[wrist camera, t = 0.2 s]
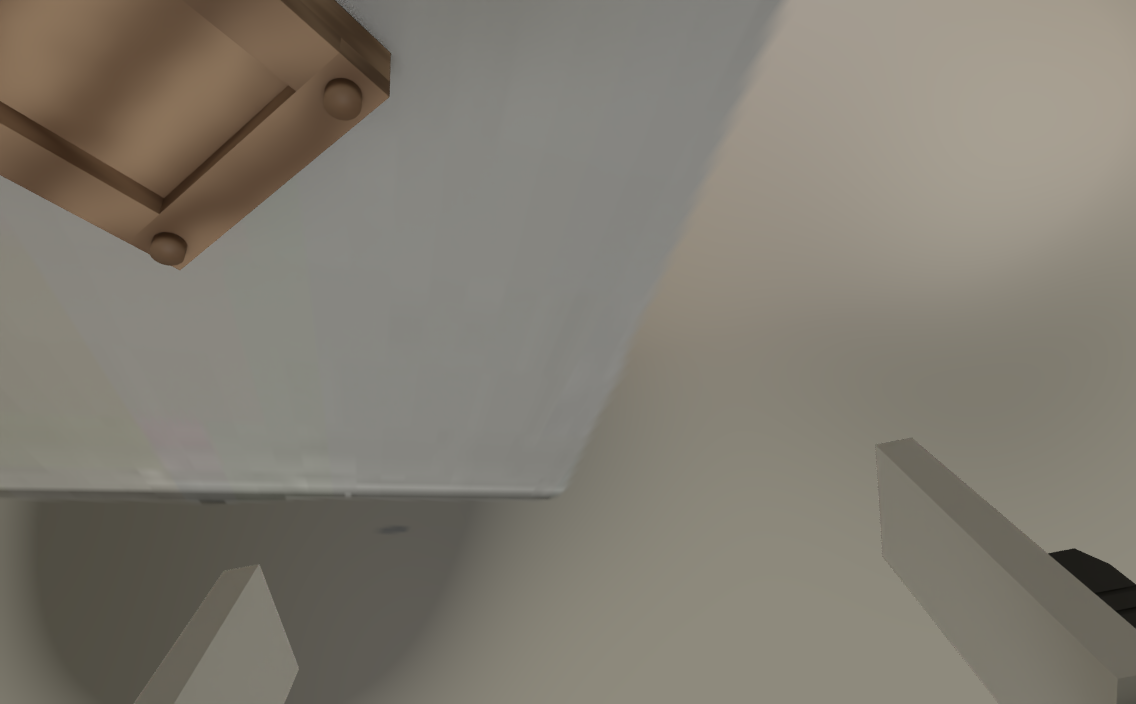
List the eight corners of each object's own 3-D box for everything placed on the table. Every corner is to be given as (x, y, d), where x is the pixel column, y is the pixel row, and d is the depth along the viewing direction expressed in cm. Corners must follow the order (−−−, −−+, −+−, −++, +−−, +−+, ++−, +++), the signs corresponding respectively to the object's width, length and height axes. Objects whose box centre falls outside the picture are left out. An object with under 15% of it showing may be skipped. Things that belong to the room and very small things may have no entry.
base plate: (-170, 13, 38) (-226, 72, 35) (22, -295, 30) (-26, -255, 27) (191, 224, 52) (177, 281, 49) (390, 53, 44) (389, 107, 40)
